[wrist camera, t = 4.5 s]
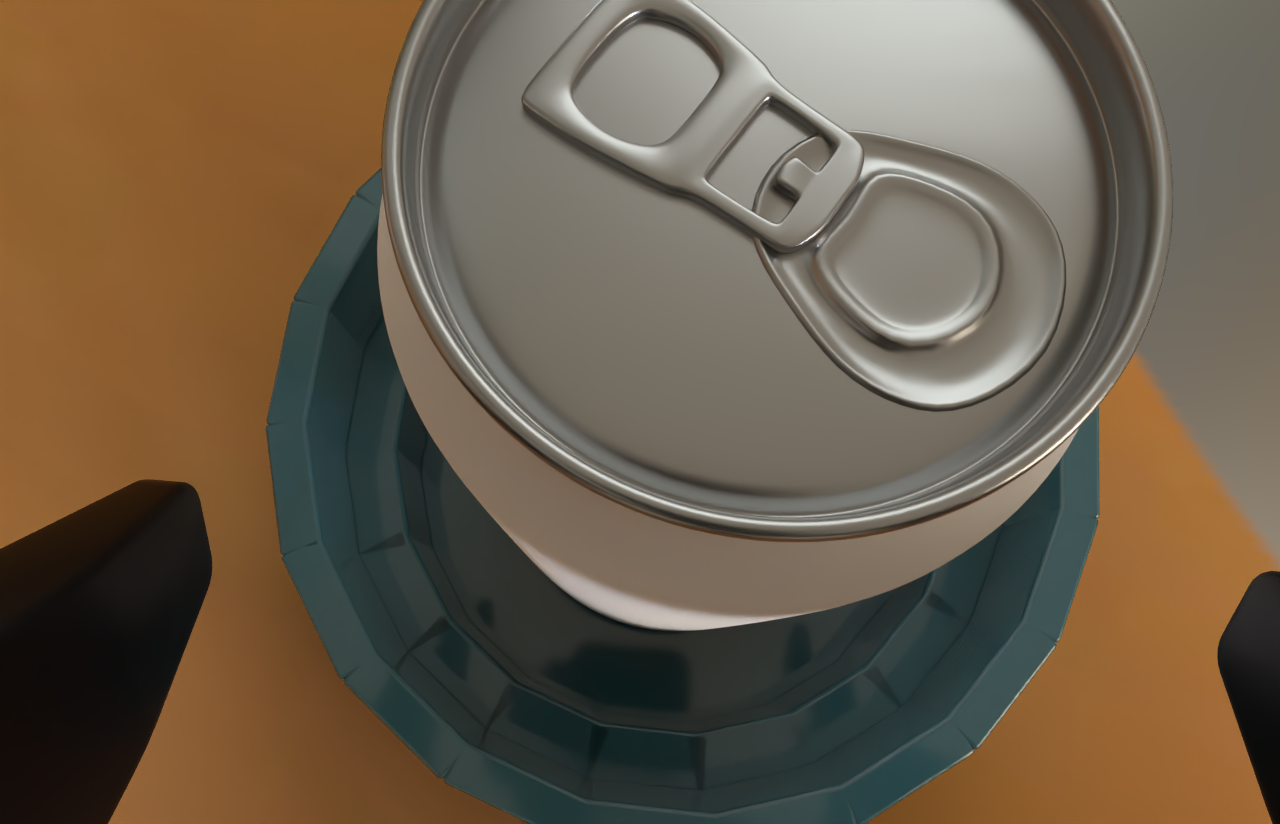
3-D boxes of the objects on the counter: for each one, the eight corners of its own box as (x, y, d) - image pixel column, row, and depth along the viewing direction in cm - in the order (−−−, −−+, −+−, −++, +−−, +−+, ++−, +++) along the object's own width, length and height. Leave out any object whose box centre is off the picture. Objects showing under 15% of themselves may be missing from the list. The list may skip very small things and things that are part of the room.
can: (711, 705, 17) (927, 835, 6) (434, 496, 18) (112, 223, 6) (900, 427, 19) (1391, 64, 7) (635, 244, 19) (676, -362, 8)
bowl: (542, 940, 16) (517, 1050, 12) (247, 347, 19) (134, 256, 14) (1107, 583, 18) (1268, 564, 14) (772, 84, 21) (817, -70, 16)
